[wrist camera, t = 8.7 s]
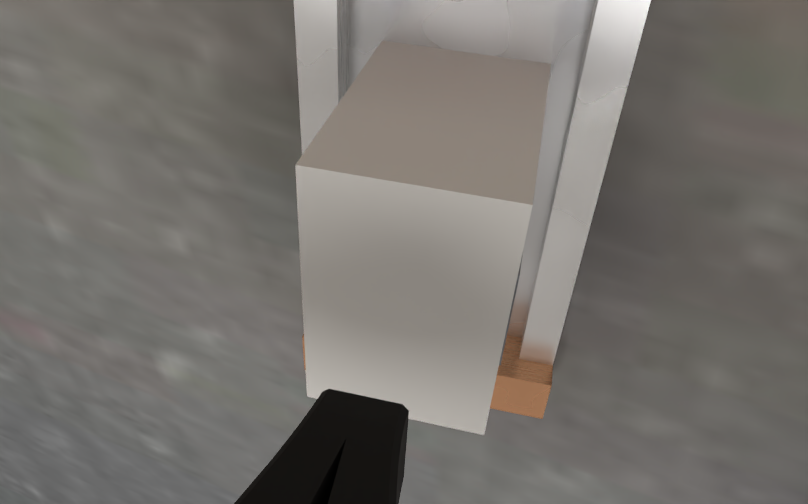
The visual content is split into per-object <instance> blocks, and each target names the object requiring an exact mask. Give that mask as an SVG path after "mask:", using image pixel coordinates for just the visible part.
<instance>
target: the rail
mask: <svg viewBox="0 0 808 504" xmlns="http://www.w3.org/2000/svg"><path fill="white" fill-rule="evenodd" d="M650 2H651V0H294V16H295V35H296V53H297V71H298V90H299V108H300V126H301V144H302V155H303V153H304V152H305V150H306V149H307V148H308V146H309V145H310V143H311V142H312V140H313V139H314V138H315V136H316V135H317V133H318V132H319V130H320V129H321V128H322V126H323V125H324V123H325V122H326V120H327V119H328V117H329V116H330V115H331V113H332V112H333V110H334V109H335V107H336V106H337V105H338V103H339V102H340V100H341V99H342V97H343V96H344V95H345V93H346V92H347V90H348V89H349V87H350V86H351V85H352V83H353V82H354V80H355V79H356V77H357V76H358V75H359V73H360V72H361V70H362V69H363V67H364V66H365V65H366V63H367V62H368V60H369V59H370V57H371V56H372V55H373V53H374V52H375V50H376V49H377V47H378V46H379V45H380V43H381V42H382V41H389V42H396V43H403V44H411V45H418V46H425V47H432V48H439V49H446V50H454V51H461V52H468V53H475V54H482V55H490V56H497V57H504V58H511V59H518V60H525V61H533V62H540V63H547V64H551V68H550V76H549V84H548V91H547V99H546V107H545V114H544V122H543V130H542V138H541V145H540V153H539V161H538V168H537V176H536V184H535V191H534V199H533V206H532V211H531V215H530V220H529V225H528V230H527V234H526V239H525V244H524V249H523V255H522V262H521V270H520V276H519V281H518V286H517V291H516V295H515V300H514V305H513V309H512V314H511V319H510V323H509V328H508V333H507V337H506V342H505V347H504V351H503V356H502V361H501V365H499V367H498V372H497V376H496V381H495V386H494V391H493V395H492V400H491V405H490V408H492V409H497V410H502V411H507V412H511V413H516V414H521V415H526V416H531V417H536V418H541V419H542V418H543V415H544V411H545V407H546V404H547V400H548V397H549V393H550V389H551V385H552V370H553V363H554V359H555V355H556V352H557V348H558V344H559V340H560V337H561V333H562V329H563V326H564V322H565V318H566V314H567V311H568V307H569V303H570V300H571V296H572V292H573V288H574V285H575V281H576V277H577V273H578V270H579V266H580V262H581V259H582V255H583V251H584V247H585V244H586V240H587V236H588V233H589V229H590V225H591V221H592V218H593V214H594V210H595V206H596V203H597V199H598V195H599V192H600V188H601V184H602V180H603V177H604V173H605V169H606V166H607V162H608V158H609V154H610V151H611V147H612V143H613V139H614V136H615V132H616V128H617V125H618V121H619V117H620V113H621V110H622V106H623V102H624V99H625V95H626V91H627V87H628V84H629V80H630V76H631V72H632V69H633V65H634V61H635V58H636V54H637V50H638V46H639V43H640V39H641V35H642V32H643V28H644V24H645V20H646V17H647V13H648V9H649V5H650ZM302 338H303V353H304V368H305V370H306V363H305V344H304V334H303V336H302Z"/></svg>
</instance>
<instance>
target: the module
mask: <svg viewBox="0 0 808 504" xmlns="http://www.w3.org/2000/svg"><path fill="white" fill-rule="evenodd" d="M550 68H551V64H547V63H540V62H533V61H525V60H518V59H511V58H504V57H497V56H490V55H482V54H475V53H468V52H461V51H454V50H446V49H439V48H432V47H425V46H418V45H411V44H403V43H396V42H389V41H382V42H381V43H380V45H379V46H378V47H377V49H376V50H375V52H374V53H373V55H372V56H371V57H370V59H369V60H368V62H367V63H366V65H365V66H364V67H363V69H362V70H361V72H360V73H359V75H358V76H357V77H356V79H355V80H354V82H353V83H352V85H351V86H350V87H349V89H348V90H347V92H346V93H345V95H344V96H343V97H342V99H341V100H340V102H339V103H338V105H337V106H336V107H335V109H334V110H333V112H332V113H331V115H330V116H329V117H328V119H327V120H326V122H325V123H324V125H323V126H322V128H321V129H320V130H319V132H318V133H317V135H316V136H315V138H314V139H313V140H312V142H311V143H310V145H309V146H308V148H307V149H306V150H305V152H304V153H303V155H302V156H301V158H300V159H299V160H298V162H297V163H296V165H295V168H296V187H297V207H298V226H299V246H300V265H301V285H302V305H303V324H304V344H305V363H306V383H307V397H312V398H316V399H318V397H319V396H320V395H321V393H322V392H323V391H325V390H327V389H333V390H338V391H343V392H347V393H352V394H357V395H362V396H366V397H371V398H376V399H380V400H385V401H390V402H395V403H399V404H403V405H404V406H405V407H406V408H407V409H408V410H409V415H408V419H412V420H417V421H422V422H426V423H431V424H435V425H440V426H444V427H449V428H454V429H458V430H463V431H467V432H472V433H476V434H481V435H484V433H485V428H486V424H487V419H488V414H489V409H490V405H491V400H492V395H493V391H494V386H495V381H496V376H497V372H498V367H499V365H501V361H502V356H503V351H504V347H505V342H506V337H507V333H508V328H509V323H510V319H511V314H512V309H513V305H514V300H515V295H516V291H517V286H518V281H519V276H520V270H521V262H522V255H523V249H524V244H525V239H526V234H527V230H528V225H529V220H530V215H531V211H532V206H533V199H534V191H535V184H536V176H537V168H538V161H539V153H540V145H541V138H542V130H543V122H544V114H545V107H546V99H547V91H548V84H549V76H550Z"/></svg>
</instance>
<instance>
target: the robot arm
mask: <svg viewBox="0 0 808 504" xmlns="http://www.w3.org/2000/svg"><path fill="white" fill-rule="evenodd" d="M408 415H409V410H408V409H407V408H406V407H405V406H404V405H403V404H399V403H395V402H390V401H385V400H380V399H376V398H371V397H366V396H362V395H357V394H352V393H347V392H343V391H338V390H333V389H327V390H325V391H323V392H322V393H321V395H320V396H319V397H318V399H317V400H316V402H315V403H314V405H313V406H312V408H311V409H310V411H309V412H308V413H307V415H306V416H305V417H304V419H303V420H302V422H301V423H300V424H299V426H298V427H297V428H296V430H295V431H294V432H293V433H292V435H291V436H290V437H289V439H288V440H287V441H286V442H285V444H284V445H283V446H282V447H281V449H280V450H279V451H278V452H277V454H276V455H275V456H274V457H273V459H272V460H271V461H270V462H269V464H268V465H267V466H266V467H265V468H264V469H263V471H262V472H261V473H260V474H259V475H258V476H257V478H256V479H255V480H254V481H253V482H252V483H251V485H250V486H249V487H248V488H247V489H246V490H245V492H244V493H243V494H242V495H241V496H240V497H239V499H238V500H237V501H236V502H235V503H234V504H398V503H399V497H400V492H401V487H402V482H403V477H404V465H405V453H406V440H407V428H408Z"/></svg>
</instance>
